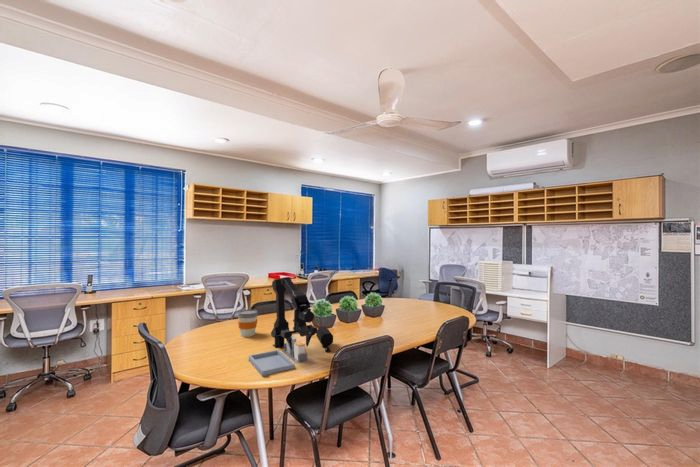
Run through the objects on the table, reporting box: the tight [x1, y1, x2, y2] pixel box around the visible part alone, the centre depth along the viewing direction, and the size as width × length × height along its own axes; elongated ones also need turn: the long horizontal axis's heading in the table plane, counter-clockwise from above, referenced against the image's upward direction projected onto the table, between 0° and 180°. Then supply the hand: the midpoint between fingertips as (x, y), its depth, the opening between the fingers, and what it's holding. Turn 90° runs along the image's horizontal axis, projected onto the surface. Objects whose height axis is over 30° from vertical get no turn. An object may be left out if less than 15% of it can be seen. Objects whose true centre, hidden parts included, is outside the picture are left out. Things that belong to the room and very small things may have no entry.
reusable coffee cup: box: [237, 309, 259, 338], centre depth 211 cm, size 13×13×15 cm
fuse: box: [285, 335, 297, 353], centre depth 180 cm, size 6×3×8 cm, turn 32°
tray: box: [248, 349, 296, 377], centre depth 163 cm, size 23×16×2 cm
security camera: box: [315, 325, 334, 353], centre depth 188 cm, size 7×18×10 cm, turn 16°
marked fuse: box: [294, 340, 306, 360], centre depth 170 cm, size 6×3×8 cm, turn 32°
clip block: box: [280, 342, 310, 364], centre depth 175 cm, size 21×8×4 cm, turn 32°
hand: (299, 347), depth 171 cm, fingers open, 9 cm apart
